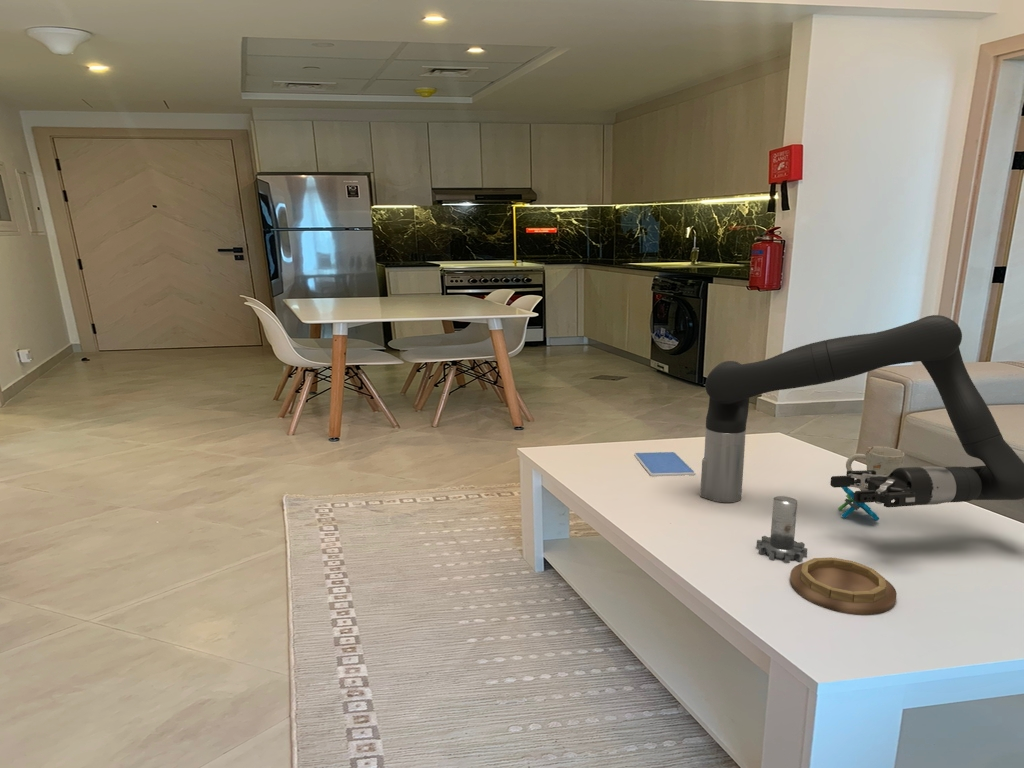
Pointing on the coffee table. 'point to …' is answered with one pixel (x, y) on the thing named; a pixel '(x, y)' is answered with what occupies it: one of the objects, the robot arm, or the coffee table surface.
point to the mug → (879, 460)
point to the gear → (855, 505)
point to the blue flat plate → (664, 464)
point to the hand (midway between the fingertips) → (842, 489)
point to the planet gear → (783, 533)
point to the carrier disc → (843, 586)
